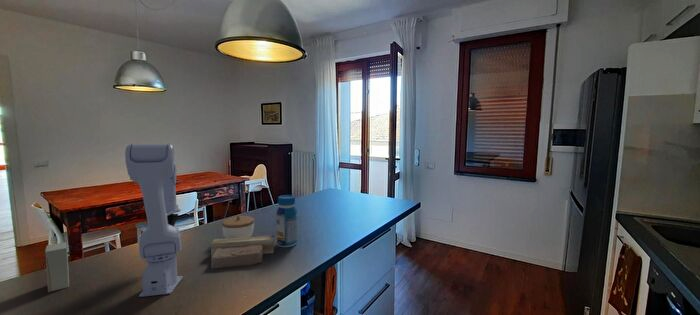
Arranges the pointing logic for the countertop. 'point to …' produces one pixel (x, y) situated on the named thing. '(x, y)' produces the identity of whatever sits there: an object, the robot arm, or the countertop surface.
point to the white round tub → (238, 227)
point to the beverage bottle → (286, 221)
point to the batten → (244, 243)
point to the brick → (237, 256)
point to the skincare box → (57, 266)
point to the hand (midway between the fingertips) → (168, 236)
